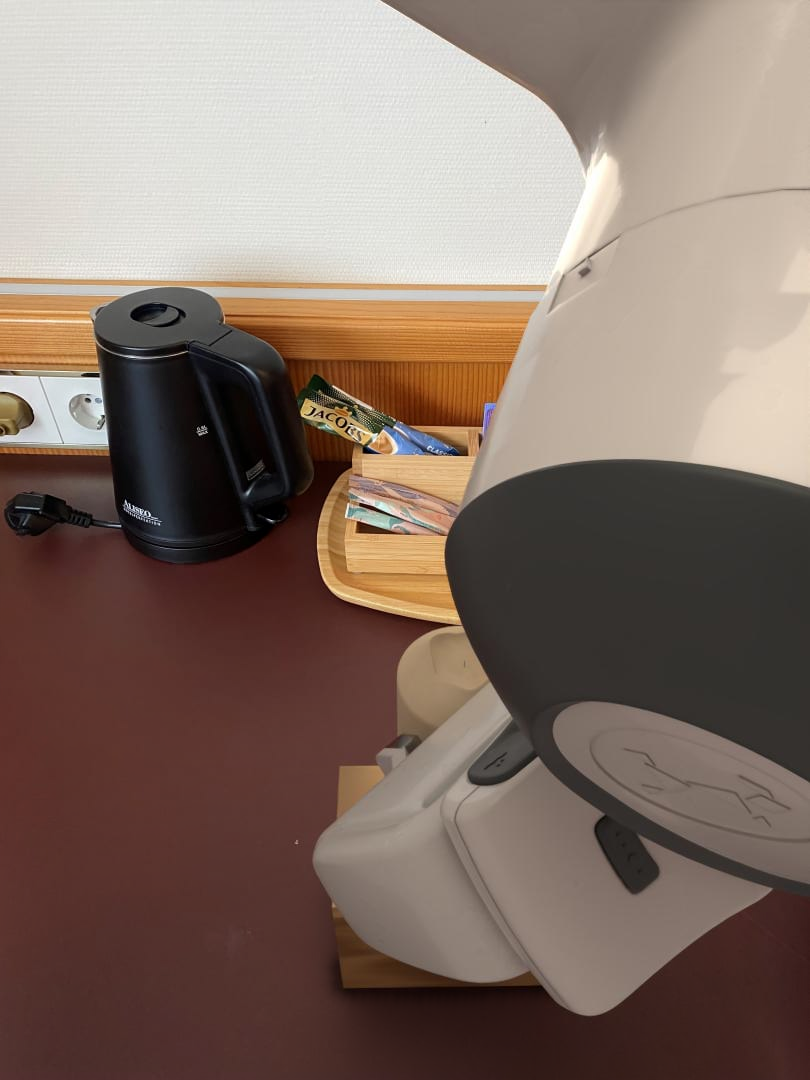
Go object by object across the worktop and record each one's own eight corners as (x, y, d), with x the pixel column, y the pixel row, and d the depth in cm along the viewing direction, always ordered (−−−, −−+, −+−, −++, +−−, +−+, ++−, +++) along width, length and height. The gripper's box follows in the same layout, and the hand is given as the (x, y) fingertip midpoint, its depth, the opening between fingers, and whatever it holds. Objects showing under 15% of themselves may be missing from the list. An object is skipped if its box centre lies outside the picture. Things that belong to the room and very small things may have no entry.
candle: (375, 798, 38) (368, 666, 31) (438, 718, 41) (444, 584, 35) (474, 862, 36) (490, 735, 29) (532, 772, 39) (558, 639, 32)
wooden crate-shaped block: (343, 988, 46) (331, 907, 39) (348, 857, 52) (339, 765, 44) (550, 985, 46) (578, 904, 39) (532, 855, 52) (554, 763, 44)
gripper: (807, 466, 29) (553, 539, 40) (420, 861, 18) (225, 805, 30) (884, 613, 29) (612, 643, 41) (556, 1078, 19) (313, 940, 30)
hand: (448, 713), depth 35 cm, fingers closed on candle, 5 cm apart
